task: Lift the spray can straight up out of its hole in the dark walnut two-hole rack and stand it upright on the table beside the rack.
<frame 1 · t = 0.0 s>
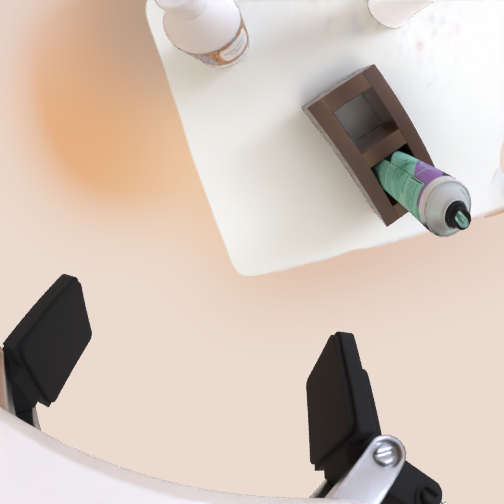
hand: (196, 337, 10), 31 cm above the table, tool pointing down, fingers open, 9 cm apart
bath foam: (223, 44, 30), on the table
rack: (369, 141, 34), on the table
cosmetic bottle: (387, 10, 25), on the table
spray can: (383, 164, 36), resting in rack
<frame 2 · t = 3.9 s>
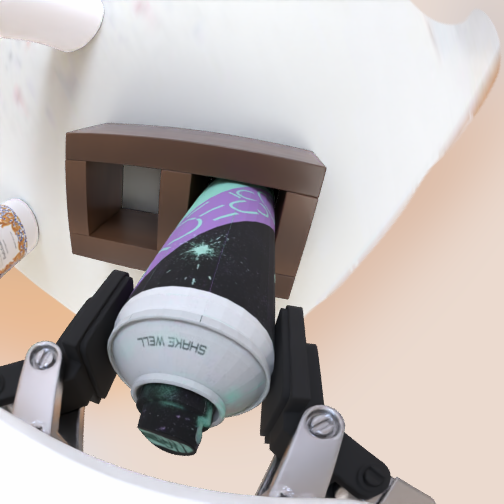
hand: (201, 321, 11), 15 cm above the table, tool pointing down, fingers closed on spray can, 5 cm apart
bath foam: (23, 222, 26), on the table
rack: (194, 188, 23), on the table
cosmetic bottle: (79, 23, 16), on the table
spray can: (241, 195, 24), resting in rack, touching gripper
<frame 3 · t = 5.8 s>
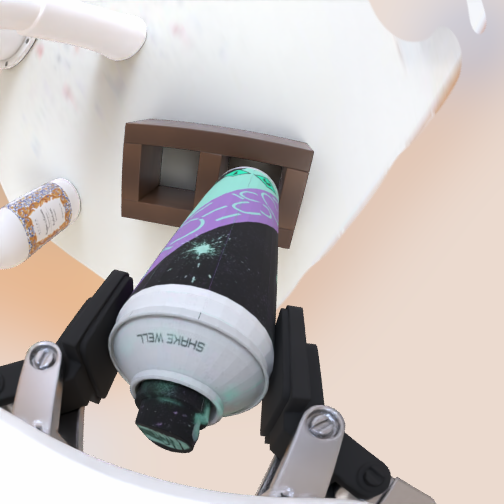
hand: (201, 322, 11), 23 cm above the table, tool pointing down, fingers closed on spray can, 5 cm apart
bath foam: (64, 199, 34), on the table
rack: (218, 170, 31), on the table
cosmetic bottle: (125, 38, 24), on the table
spray can: (245, 197, 24), point 8 cm above the table, touching gripper
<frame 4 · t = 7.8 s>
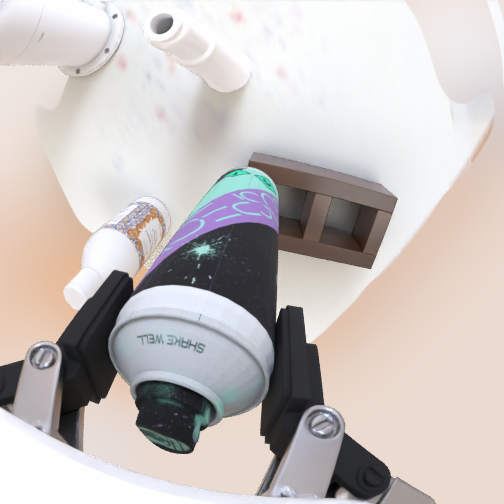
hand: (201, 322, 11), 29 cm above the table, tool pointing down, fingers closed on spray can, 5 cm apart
bath foam: (150, 217, 41), on the table
rack: (311, 202, 38), on the table
cosmetic bottle: (227, 70, 30), on the table
spray can: (245, 197, 24), point 14 cm above the table, touching gripper
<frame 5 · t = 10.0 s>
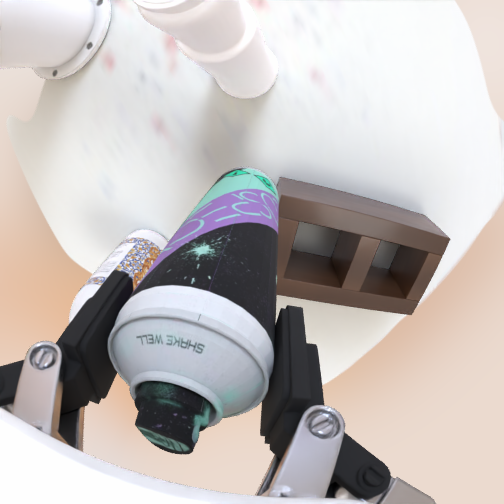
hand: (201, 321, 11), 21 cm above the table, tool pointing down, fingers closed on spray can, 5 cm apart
bath foam: (150, 252, 34), on the table
rack: (347, 237, 31), on the table
cosmetic bottle: (246, 69, 23), on the table
spray can: (245, 197, 24), point 6 cm above the table, touching gripper
when the fingers open (15 cm above the table, at t = 11.8 s): spray can stays where it is, on the table.
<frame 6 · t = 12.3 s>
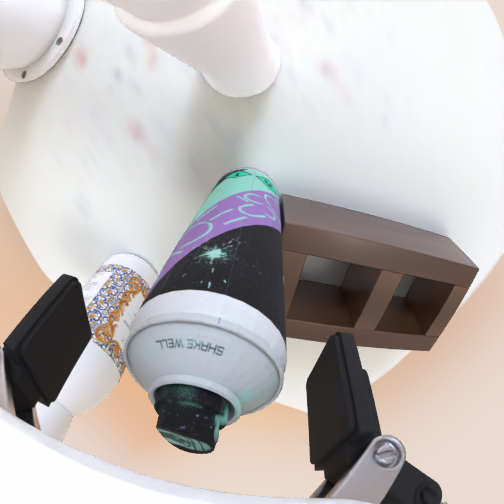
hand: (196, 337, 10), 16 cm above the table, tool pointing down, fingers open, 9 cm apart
bath foam: (133, 278, 29), on the table
rack: (360, 263, 26), on the table
cosmetic bottle: (241, 62, 19), on the table
spray can: (246, 198, 24), on the table
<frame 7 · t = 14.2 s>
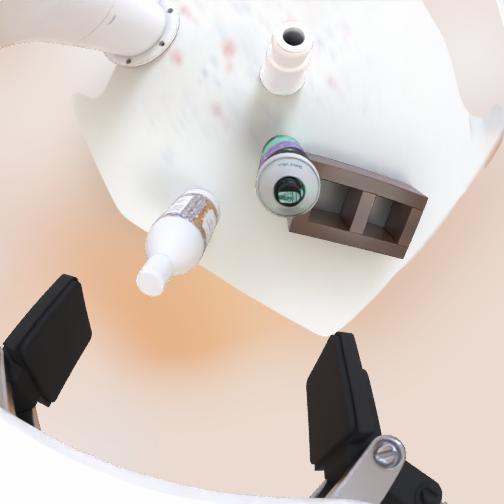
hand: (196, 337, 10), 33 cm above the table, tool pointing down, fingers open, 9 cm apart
bath foam: (198, 209, 43), on the table
rack: (351, 199, 41), on the table
cosmetic bottle: (282, 74, 33), on the table
spray can: (282, 154, 39), on the table
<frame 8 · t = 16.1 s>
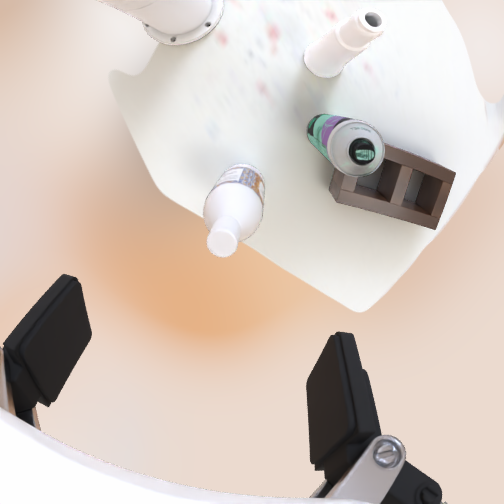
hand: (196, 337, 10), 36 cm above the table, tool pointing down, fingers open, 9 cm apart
bath foam: (242, 184, 44), on the table
rack: (387, 175, 41), on the table
cosmetic bottle: (324, 59, 34), on the table
spray can: (324, 131, 39), on the table
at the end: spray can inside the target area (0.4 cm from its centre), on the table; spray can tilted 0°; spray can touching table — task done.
